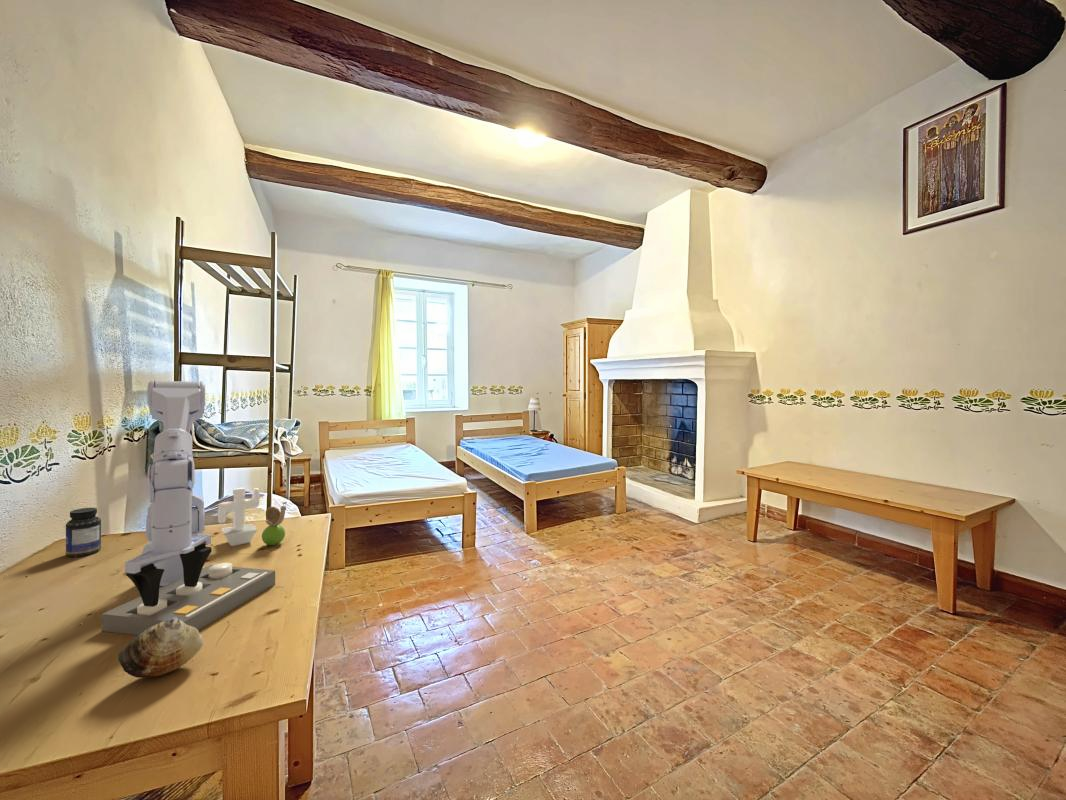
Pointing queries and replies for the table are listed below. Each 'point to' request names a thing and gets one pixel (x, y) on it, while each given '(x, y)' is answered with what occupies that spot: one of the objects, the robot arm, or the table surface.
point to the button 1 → (152, 608)
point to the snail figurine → (274, 526)
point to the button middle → (188, 589)
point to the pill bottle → (83, 533)
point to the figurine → (239, 516)
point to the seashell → (160, 649)
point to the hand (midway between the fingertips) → (171, 595)
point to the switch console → (192, 601)
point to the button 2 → (220, 571)
